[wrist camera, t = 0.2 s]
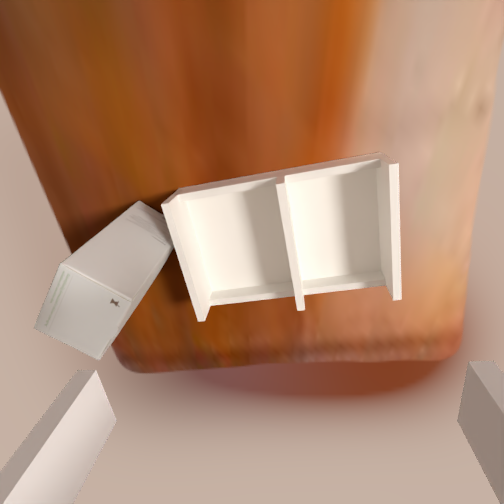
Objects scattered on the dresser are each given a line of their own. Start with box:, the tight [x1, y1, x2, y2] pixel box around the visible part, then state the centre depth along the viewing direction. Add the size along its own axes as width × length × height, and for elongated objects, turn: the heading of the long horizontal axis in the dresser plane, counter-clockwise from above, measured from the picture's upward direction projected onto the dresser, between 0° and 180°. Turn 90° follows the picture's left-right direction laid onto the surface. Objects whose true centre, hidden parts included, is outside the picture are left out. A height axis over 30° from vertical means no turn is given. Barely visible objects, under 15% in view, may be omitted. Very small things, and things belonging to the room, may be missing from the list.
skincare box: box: [34, 201, 174, 360], centre depth 34 cm, size 8×7×16 cm
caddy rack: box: [161, 152, 402, 322], centre depth 36 cm, size 14×22×6 cm, turn 101°
